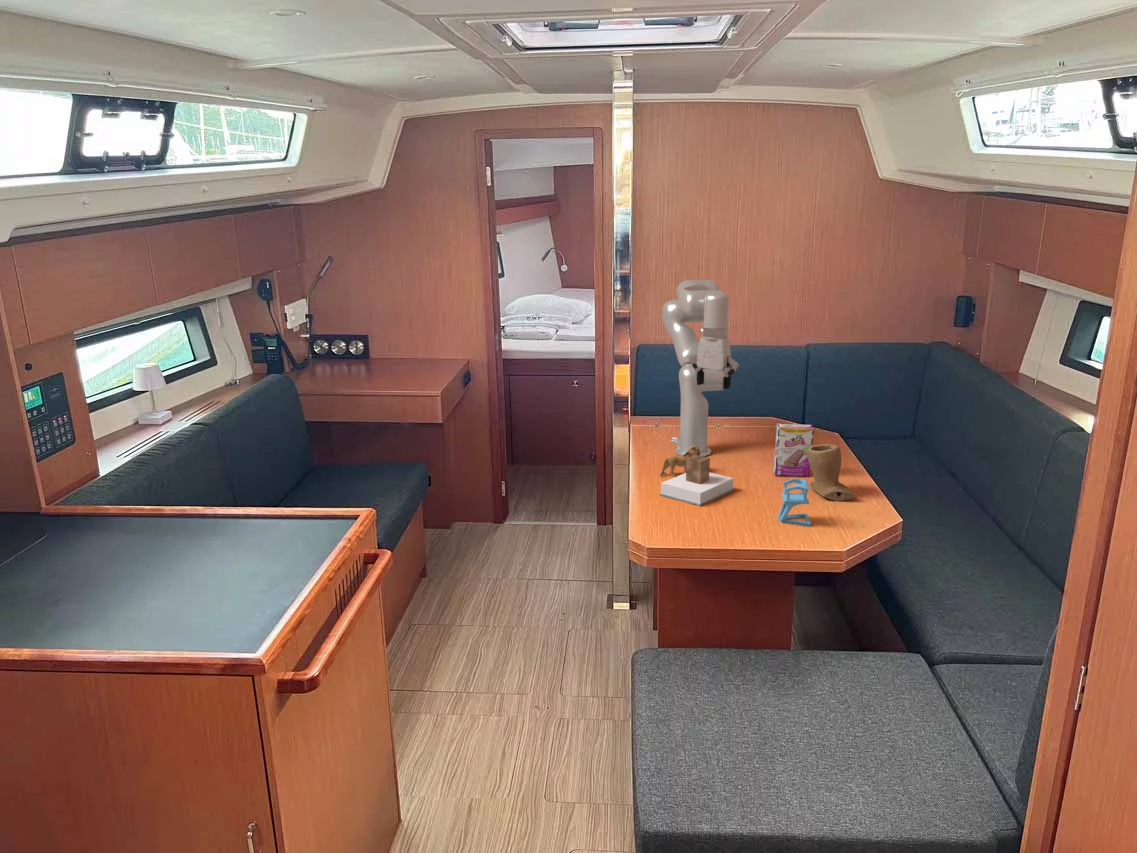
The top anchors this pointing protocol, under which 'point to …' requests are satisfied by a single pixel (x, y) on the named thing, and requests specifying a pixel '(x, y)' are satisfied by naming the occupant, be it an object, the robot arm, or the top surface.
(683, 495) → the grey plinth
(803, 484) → the chair
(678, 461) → the lion figurine
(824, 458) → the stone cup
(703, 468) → the walnut block
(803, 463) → the candy bar box
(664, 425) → the top surface
